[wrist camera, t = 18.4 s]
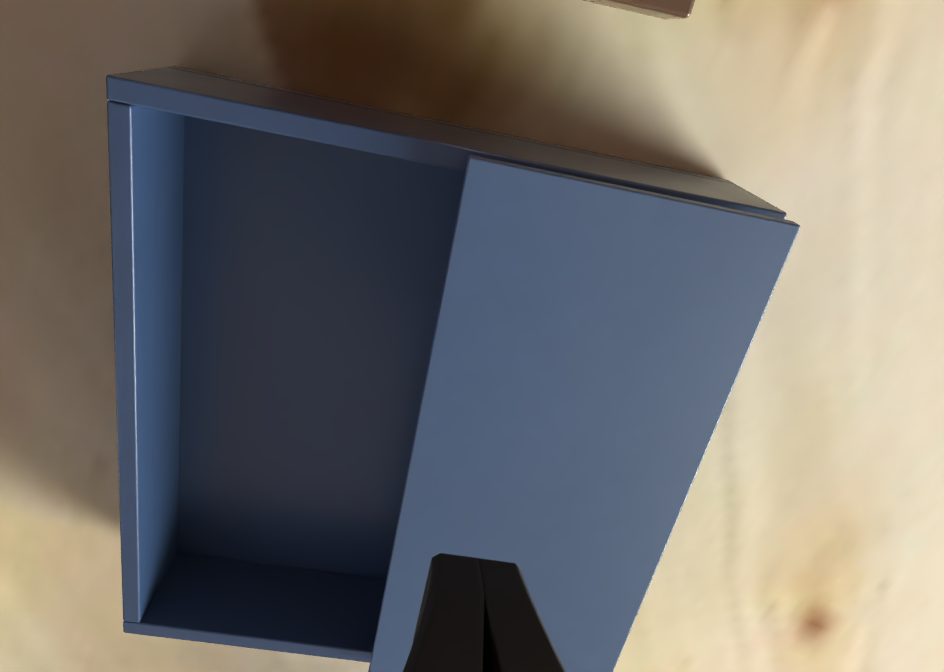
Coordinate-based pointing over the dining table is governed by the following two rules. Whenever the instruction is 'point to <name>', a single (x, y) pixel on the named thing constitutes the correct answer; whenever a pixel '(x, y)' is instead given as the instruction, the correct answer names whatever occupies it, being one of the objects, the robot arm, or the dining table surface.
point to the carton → (284, 343)
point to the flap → (573, 393)
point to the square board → (653, 7)
